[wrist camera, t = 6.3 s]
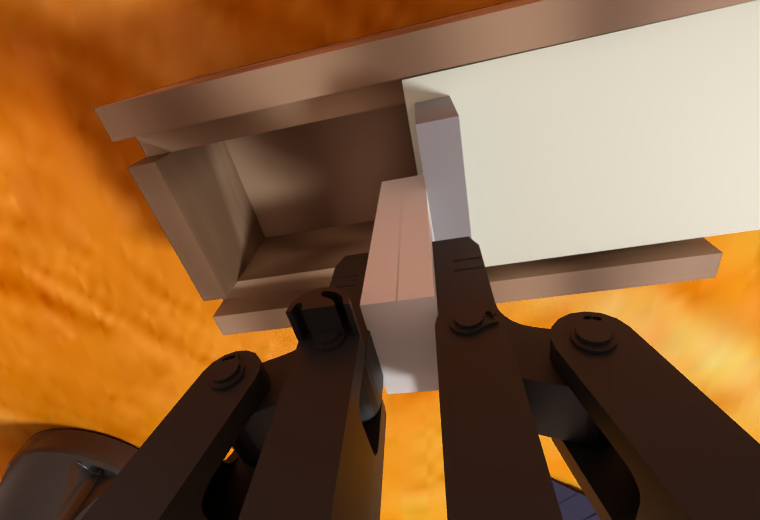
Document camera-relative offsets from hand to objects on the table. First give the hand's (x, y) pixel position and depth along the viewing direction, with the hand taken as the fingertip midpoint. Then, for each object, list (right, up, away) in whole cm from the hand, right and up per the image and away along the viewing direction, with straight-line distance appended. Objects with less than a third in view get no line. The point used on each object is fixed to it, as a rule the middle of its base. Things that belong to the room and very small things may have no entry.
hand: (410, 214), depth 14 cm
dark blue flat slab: (+22, -36, +32) cm, 53 cm away
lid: (+10, +3, +1) cm, 10 cm away
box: (+1, +4, +7) cm, 8 cm away
